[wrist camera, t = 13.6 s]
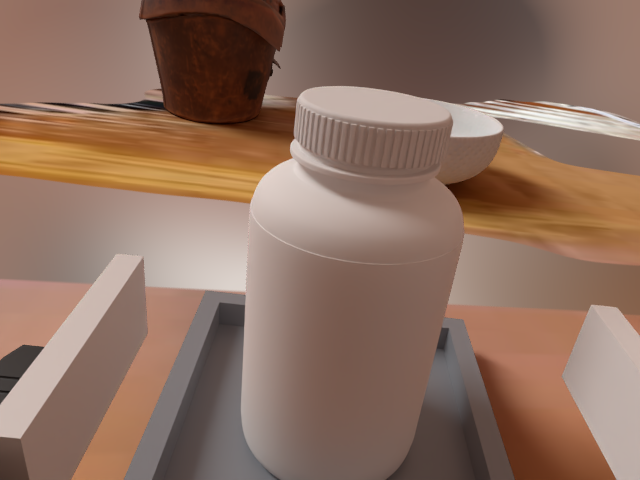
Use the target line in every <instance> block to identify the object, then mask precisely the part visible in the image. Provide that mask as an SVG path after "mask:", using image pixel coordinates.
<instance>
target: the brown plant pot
mask: <svg viewBox="0 0 640 480" xmlns="http://www.w3.org/2000/svg"><path fill="white" fill-rule="evenodd" d="M139 18H140V19H146V22H147V25H148V28H149V33H150V37H151V42H152V47H153V51H154V56H155V60H156V65H157V69H158V74H159V78H160V83H161V88H162V93H163V101H164V107H165V108H166V109H167V110H168V111H169V112H171V113H172V114H174V115H177V116H179V117H182V118H185V119H188V120H192V121H197V122H204V123H236V122H243V121H248V120H251V119H253V118H255V117H256V116H257V115H258V114H259V112H260V109H261V106H262V101H263V97H264V93H265V89H266V86H267V82H268V80H269V77H270V76H272V73H273V70H272V63H274V64H276V65H277V66H278V67H279V68H280V66H279V64H278V63H277V61H275V59H274V54H275V51H276V49H277V50H278V51H280V47H282V41H283V35H284V30H285V22H286V19H285V6H284V5H283V4H282V2H281V0H142V1H141V8H140V13H139Z"/></svg>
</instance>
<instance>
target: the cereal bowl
mask: <svg viewBox="0 0 640 480" xmlns="http://www.w3.org/2000/svg"><path fill="white" fill-rule="evenodd" d="M422 99H424V98H422ZM425 100H428V101H431V102H433V103H436V104H438V105H440V106H442V107H444V108H445V109H447V110H448V111H449V112H450V114H451V116H452V119H453V126H452V131H451V135H450V140H449V144H448V148H447V153H446V156H445V159H443V161H441V168H440V172H439V173H438V175H437V176H435V178H436V179H438V180H439V181H440V182H441V183H443V184H444V185H445V184H451V183H457V182H461V181H464V180H467V179H470V178H472V177H474V176H476V175H477V174H479V173H480V172H482V171H483V170H484V169H485V168H486V167H487V166H488V165H489V164H490V162H491V161H492V160H493V158H494V156H495V155H496V153H497V150H498V148H499V146H500V142H501V139H502V135H503V131H504V129H503V126H502V124H501V123H500V122H499V121H497V120H496V119H495V118H493V117H491V116H489V115H487V114H484V113H482V112H479V111H476V110H473V109H470V108H467V107H463V106H460V105H456V104H451V103H446V102H442V101H436V100H431V99H425Z"/></svg>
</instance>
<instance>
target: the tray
mask: <svg viewBox="0 0 640 480" xmlns="http://www.w3.org/2000/svg"><path fill="white" fill-rule="evenodd" d="M245 301H246V295H241V294H232V293H223V292H214V291H205V294H204V296H203V298H202V301H201V303H200V305H199V308H198V310H197V312H196V314H195V317H194V319H193V321H192V324H191V326H190V328H189V331H188V333H187V335H186V337H185V340H184V342H183V344H182V347H181V349H180V351H179V354H178V356H177V358H176V360H175V363H174V365H173V367H172V370H171V372H170V374H169V377H168V379H167V381H166V383H165V386H164V388H163V390H162V393H161V395H160V397H159V400H158V402H157V404H156V406H155V409H154V411H153V413H152V416H151V418H150V420H149V423H148V425H147V427H146V430H145V432H144V434H143V436H142V439H141V441H140V443H139V446H138V448H137V450H136V453H135V455H134V457H133V459H132V462H131V464H130V466H129V469H128V471H127V473H126V476H125V478H124V480H280V479H279V478H277V477H275V476H274V475H273V474H271V473H270V472H269V471H268V470H267V469H265V468H264V467H263V466H262V465H261V463H260V462H259V461H258V460H257V459H256V457H255V456H254V455H253V453H252V451H251V450H250V448H249V446H248V444H247V442H246V439H245V436H244V432H243V427H242V418H241V393H242V370H243V347H244V324H245ZM386 480H515V478H514V475H513V472H512V469H511V466H510V463H509V460H508V457H507V453H506V450H505V447H504V444H503V441H502V438H501V435H500V432H499V429H498V426H497V423H496V419H495V416H494V413H493V410H492V407H491V404H490V401H489V398H488V395H487V392H486V388H485V385H484V382H483V379H482V376H481V373H480V370H479V367H478V364H477V361H476V358H475V354H474V351H473V348H472V345H471V342H470V339H469V336H468V333H467V330H466V327H465V323H464V320H462V319H453V318H444V320H443V324H442V328H441V332H440V336H439V340H438V344H437V348H436V352H435V356H434V360H433V364H432V368H431V372H430V376H429V380H428V384H427V388H426V392H425V396H424V400H423V404H422V408H421V412H420V416H419V420H418V424H417V428H416V432H415V436H414V439H413V442H412V444H411V447H410V449H409V452H408V454H407V456H406V458H405V459H404V461H403V463H402V464H401V465H400V467H399V468H398V469H397V470H396V471H395V472H394V473H393V474H392V475H391V476H390V477H388V478H387V479H386Z"/></svg>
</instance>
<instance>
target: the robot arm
mask: <svg viewBox="0 0 640 480" xmlns="http://www.w3.org/2000/svg"><path fill="white" fill-rule="evenodd" d="M147 333H148V328H147V311H146V294H145V277H144V260H143V256H133V255H124V254H116V256H115V257H114V258H113V259H112V261H111V262H110V263H109V265H108V266H107V267H106V268H105V270H104V271H103V272H102V274H101V275H100V276H99V278H98V279H97V280H96V281H95V283H94V284H93V285H92V286H91V288H90V289H89V290H88V292H87V293H86V294H85V295H84V297H83V298H82V299H81V301H80V302H79V303H78V305H77V306H76V307H75V308H74V310H73V311H72V312H71V314H70V315H69V316H68V317H67V319H66V320H65V321H64V323H63V324H62V325H61V327H60V328H59V329H58V330H57V332H56V333H55V334H54V336H53V337H52V338H51V339H50V341H49V342H48V343H47V345H46V346H45V347H40V346H30V345H22V346H21V347H19V348H17V349H16V350H14V351H13V352H11V353H10V354H8V355H6V356H5V357H3V358H2V359H1V360H0V480H71V478H72V477H73V475H74V473H75V471H76V469H77V467H78V465H79V463H80V461H81V459H82V457H83V456H84V454H85V452H86V450H87V448H88V446H89V444H90V442H91V440H92V438H93V436H94V435H95V433H96V431H97V429H98V427H99V425H100V423H101V421H102V419H103V417H104V415H105V414H106V412H107V410H108V408H109V406H110V404H111V402H112V400H113V398H114V396H115V394H116V393H117V391H118V389H119V387H120V385H121V383H122V381H123V379H124V377H125V375H126V373H127V372H128V370H129V368H130V366H131V364H132V362H133V360H134V358H135V356H136V354H137V352H138V351H139V349H140V347H141V345H142V343H143V341H144V339H145V337H146V335H147ZM562 378H563V380H564V382H565V384H566V385H567V387H568V389H569V391H570V393H571V395H572V397H573V399H574V401H575V402H576V404H577V406H578V408H579V410H580V412H581V414H582V416H583V417H584V419H585V421H586V423H587V425H588V427H589V429H590V431H591V433H592V434H593V436H594V438H595V440H596V442H597V444H598V446H599V448H600V449H601V451H602V453H603V455H604V457H605V459H606V461H607V463H608V465H609V466H610V468H611V470H612V472H613V474H614V476H615V478H616V480H640V336H639V335H638V333H637V332H636V331H635V329H634V328H633V327H632V326H631V324H630V323H629V322H628V321H627V319H626V318H625V317H624V316H623V314H622V313H621V312H620V311H619V310H618V308H617V307H607V306H599V305H591V306H590V309H589V311H588V314H587V316H586V318H585V321H584V323H583V326H582V328H581V331H580V333H579V335H578V338H577V340H576V343H575V345H574V348H573V350H572V352H571V355H570V357H569V360H568V362H567V365H566V367H565V370H564V372H563V374H562Z"/></svg>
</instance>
